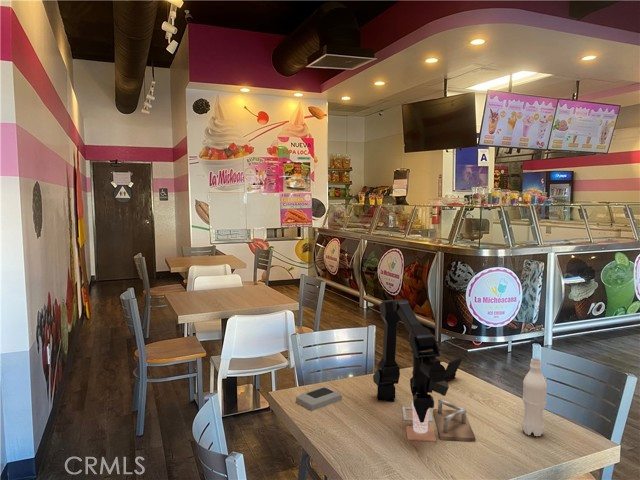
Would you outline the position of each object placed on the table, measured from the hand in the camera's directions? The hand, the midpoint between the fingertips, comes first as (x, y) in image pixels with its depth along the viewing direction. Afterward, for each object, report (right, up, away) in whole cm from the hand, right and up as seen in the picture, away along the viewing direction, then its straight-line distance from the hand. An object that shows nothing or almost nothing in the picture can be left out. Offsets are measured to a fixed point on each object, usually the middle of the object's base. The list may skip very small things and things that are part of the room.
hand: (420, 416), depth 157 cm
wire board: (+12, -5, +6) cm, 15 cm away
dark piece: (+20, -2, +48) cm, 52 cm away
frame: (+2, -5, +14) cm, 15 cm away
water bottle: (+37, -6, +1) cm, 38 cm away
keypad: (-33, -4, +26) cm, 43 cm away
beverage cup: (0, -5, 0) cm, 5 cm away
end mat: (0, -6, 0) cm, 6 cm away
